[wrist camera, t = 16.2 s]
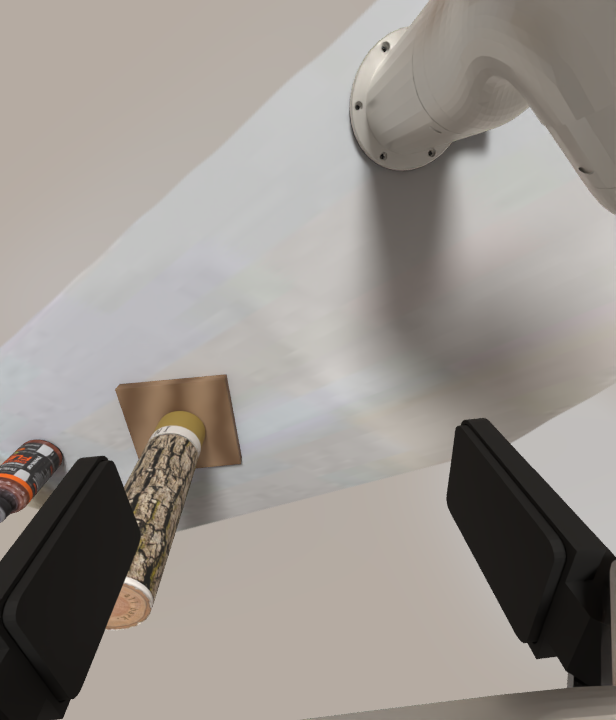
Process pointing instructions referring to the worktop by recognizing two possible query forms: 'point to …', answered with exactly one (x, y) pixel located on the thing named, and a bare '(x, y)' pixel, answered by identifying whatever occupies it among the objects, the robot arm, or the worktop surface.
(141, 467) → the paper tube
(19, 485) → the supplement bottle
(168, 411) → the board
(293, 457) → the worktop surface
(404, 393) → the worktop surface
